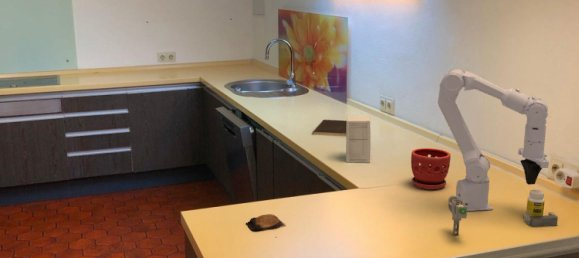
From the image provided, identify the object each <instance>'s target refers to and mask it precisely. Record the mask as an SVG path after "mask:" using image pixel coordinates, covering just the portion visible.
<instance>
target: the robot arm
mask: <svg viewBox="0 0 579 258" xmlns="http://www.w3.org/2000/svg"><path fill="white" fill-rule="evenodd" d="M463 88H464V91H465V92H466V91H471V90H477V91H479V92H481V93H484V94H487V95H489V96H491V97H493V98H495V99H497V100H500V102H501V105H502V106H503V107H505V108H507V109H510V110H512V111H514V112H515V113H518V114H521V115H524V116H525V117H526V123H525V127H524V139H523V147H519V148H518V153H517V155H519V156H521V157H522V158H524V159H521V160H520V164H521V167H522V169H523V171H524V177H525V183H526V185H528V186H529V185H530V186H531V185H536V181H537V179H538V177H539V175H540V173H541V171H542V170H543V169H549V164H550V162H549V161H548V159H547V157H548V154H546V153H545V143H546V132H547V126H546V124H547V118H548V117H549V114H548V111H549V110H548V105H547V103H546V102H545V101H544V100H542V99H541V98H536V96H534V95H532V96H531V95H528V94H527V93H523V92H522V91H521V89H519V88H518V87H515V88H512V87H510V88H508V89H505V88H502V87H501V86H499V85H496V84H495V83H492V82H491V81H489V80H487V79H485V78H484V77H481V76H480V75H477V74H475V73H473V72H471V71H468V70H466V71H465V70H464V69H462V68H459V67H454V68H452V69H450V70H449V71H448V73H446V74H444V76H443V78H442V79H441V81H440V83H439V89H438V90H439V92H438V99H437V104H438V107H439V109H440V111H441V113H442V115H443V117H444V120H445V121H446V123H447V126H448V127H449V130H450V131H451V134H452V136H453V138H454V140H455V143H457V146H458V148H459V151H460V152H461V154H462V159H463V164H464V167H465V178H463V179H459V180H457V182H456V185H455V186H456V188H455V191H456V192H455V196H456V197H457V198H458V200H462V201H463V202H464V204H465V205H466V206H467V212H471V211H489V210H490V211H491V210H493V209H494V208H493V207H492V206H491V205H490V204H489V190H490V177H489V175H488V172H489V170H490V168H491V162H490V160H489V159H488V157H486V156H485V155H484V153H483V152H482V150H481V148H479V147H478V146H477V144H476V142H475V140H474V137H473V136H472V134H471V131H470V130H469V127H468V125H467V123H466V122H465V120H464V119H465V118H464V117H463V115H462V113H461V110H460V109H459V107H458V105H457V103H456V101H457V98H458V95H459V93H460V92H461V90H463Z"/></svg>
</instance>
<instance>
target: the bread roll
mask: <svg viewBox="0 0 579 258" xmlns="http://www.w3.org/2000/svg"><path fill="white" fill-rule="evenodd" d="M245 226H246V227H247V228H248V229H249V231H251V232H253V233H259V232H260V233H261V232H266V231H271V230H275V229H280V228H284V227H286V226H287V225H286V223H284V222H283V221H281V220H280V219H279V217H278V216H276V215H274V214H273V213H271V214H269V213H267V214H262V215H259V216H257V217H251V218H250V219H249V221H248V222H245Z"/></svg>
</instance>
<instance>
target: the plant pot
mask: <svg viewBox="0 0 579 258" xmlns="http://www.w3.org/2000/svg"><path fill="white" fill-rule="evenodd" d="M410 166H411V168H410V169H411V172H412V174H413V177H412V178H411V182H412V184H413V185H414V186H416V187H418V188H419V189H424V190H437V189H438V190H439V189H441V188H444V186H446V184H447V180H446V177H447V176H448V174H449V169H450V167H451V153H450V152H449V151H446V150H443V149H439V148H432V147H431V148H427V147H425V148H424V147H423V148H421V147H420V148H416V149H413V150H412V151H411V156H410Z"/></svg>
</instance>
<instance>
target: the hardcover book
mask: <svg viewBox="0 0 579 258" xmlns="http://www.w3.org/2000/svg"><path fill="white" fill-rule="evenodd" d="M346 124H347V120H339V119H323V120H322V121H321V122H319V124H318V125H317V127H315V128H314V130H312V132H311V133H312V134H311V135H315V136H316V135H318V136H331V137H333V136H334V137H346Z"/></svg>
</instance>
